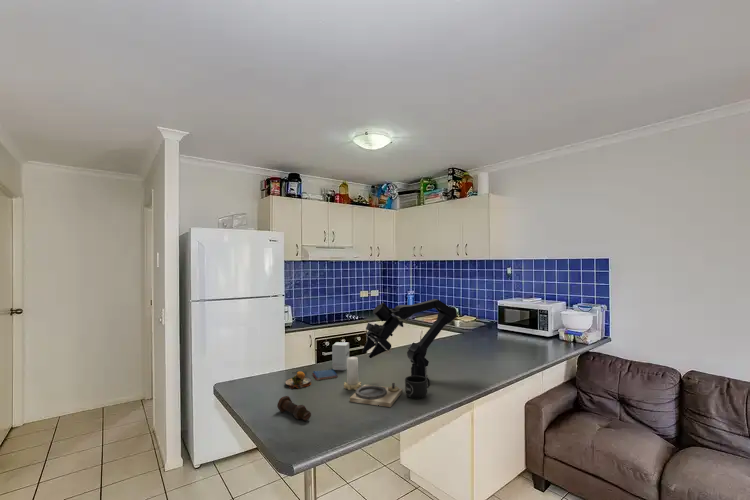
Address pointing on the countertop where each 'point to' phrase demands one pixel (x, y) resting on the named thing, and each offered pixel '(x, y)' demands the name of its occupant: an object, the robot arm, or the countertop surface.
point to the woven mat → (324, 374)
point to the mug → (416, 386)
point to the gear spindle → (352, 374)
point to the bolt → (293, 408)
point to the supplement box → (340, 355)
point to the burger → (298, 381)
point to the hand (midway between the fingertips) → (366, 354)
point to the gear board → (376, 395)
